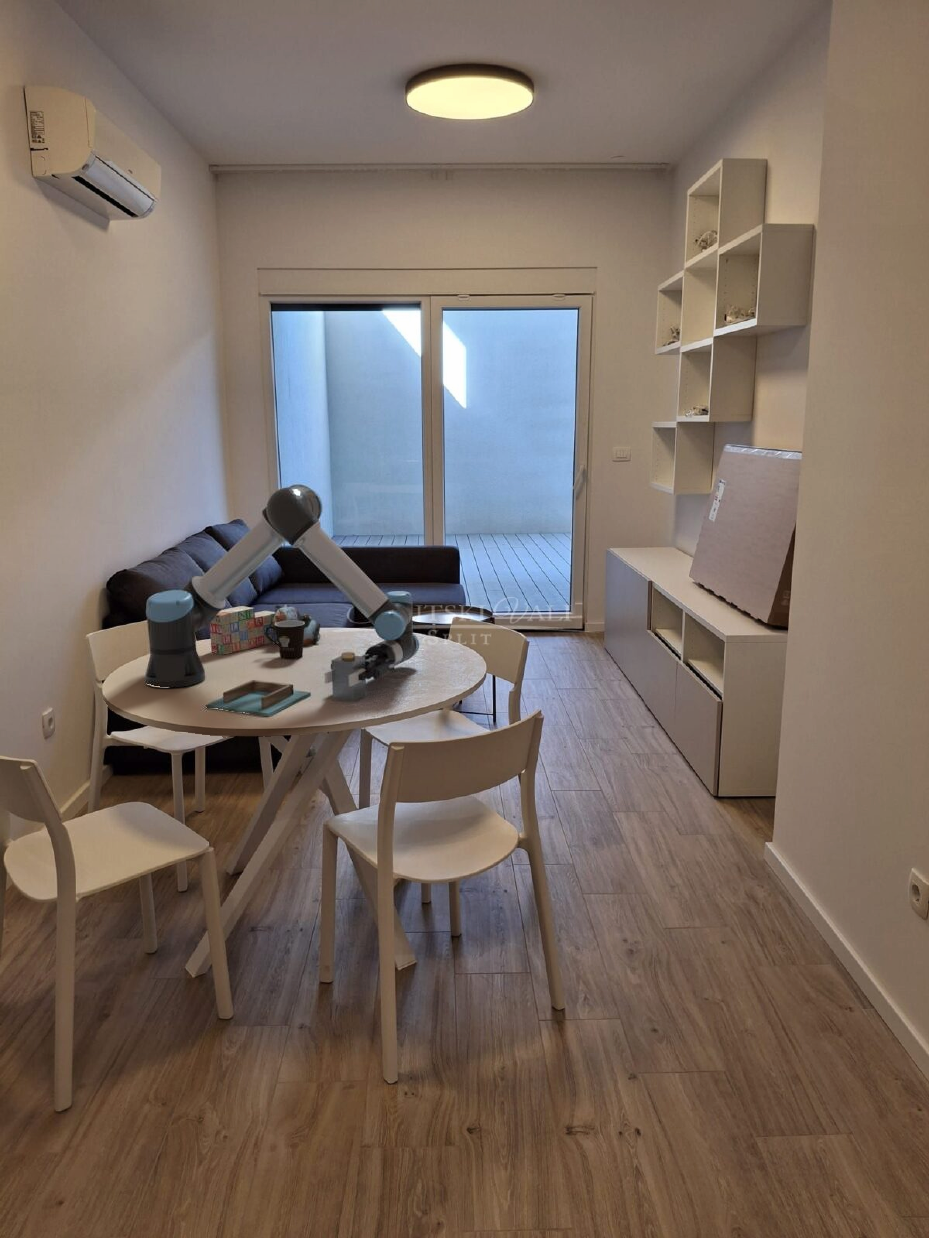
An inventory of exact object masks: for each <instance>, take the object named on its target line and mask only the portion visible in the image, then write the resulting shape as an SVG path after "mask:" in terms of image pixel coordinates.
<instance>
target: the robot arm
mask: <svg viewBox="0 0 929 1238" xmlns="http://www.w3.org/2000/svg"><path fill="white" fill-rule="evenodd" d="M322 513H323V501H322V499H321V497H320V495H319V493H318V492H317V491H316V490H315V489H314V488H312V487H310V486H308V485H305V484H299V483H298V484H292V485H290V486H289V487H288V486H287V487H282V488H280V489H277V490H276V491H275V492H273V493H272V494H271V496H270V497H269V499H268V501H267V503H266V506H265V508H263V509H262V510H261V520H259V521H258V522H257V523H256V524H255V525H254V526H253V527H252V528H251V529H249V531H248V532H247V533H246V534H245V535H244V536H243V537H242V538H241V539H240V540H238V542H237V543H236V544H235V545H233V546H232V547H231V548H230V549H229V550H228V551H227V552H226V553H225V554H224V555H223V556H222V557H221V558H219V560H218V561H217V562H216V563H215V564H214V565H212V566H211V568H209V570H208V571H206V572H205V573H204V574H203V575H201V576H199V575H198V576H197V575H196V576H193V577H192V578H191V579H190V580H189V581H188V582H187V583H186V584H185V585H184V586H183V587H182V588H181V589H177V590H176V589H171V590H165V591H162V592H157V593H154V594H152V595H151V596H149V597H148V599H147V600H146V603H145V604H146V609H145V615H146V620H147V622H146V624H147V630H148V631H147V632H148V643H149V659H148V663H147V667H146V670H145V677H144V678H145V684H146V683H147V684H151V685H154V686H160V687H180V688H183V687H182V686H186V687H189V686H188V685H191V686H193V685H192V684H195V685H198V684H200V683H202V682H203V681H205V680H206V670H205V668H204V665H203V663H202V660H201V658H200V655H199V654H198V653H199V652H198V651H197V642H196V641H197V640H196V632H197V631H200V630H201V629H203V628H205V627H207V626H209V624H210V623H211V622H212V621H213V620H214V618H215V617H216V615H217V614H218V613H219V612H220V611H221V610H224V608H225V607H226V599H227V598H228V597H229V596H230V595H231V593H234V591H235V590H236V589H237V588H238V587H239V586H241V584H242V583H244V581H245V580H247V579H248V578H249V577H250V576H251V575H252V574H253V573H254V572H255V571H256V570H257V569H258V568H259V567H260V566H261V565H262V564H263V563H265V561H266V560H268V558H269V557H271V556H272V555H273V554H274V553H275V552H276V551H277V550H278V549H279V548H280V547H281V546H282V545H283V544H284V543H288V544H289V545H290V547H292V548H298V549H299V550H301V552H302V553H303V554H304V555H305V556H306V557H307V558H308V559H309V560H310V561H311V562H312V563H313V564H314V565H315V566H316V567H317V568H318V569H319V570H320V572H322V574H324V576H326V577H327V579H329V581H331V583H333V584H334V586H335V587H336V588H337V589H338V590H339V591H340V592H341V593H343V595H344V596H345V597H346V598H347V599H348V600H349V601H350V602H351V603H352V604H353V605H354V606H355V607H356V608H357V609H358V610H359V612H361V614H363V615H364V617H366V618H367V620H369V621H370V623H371V624H372V625H373V627H374V631H375V633H376V634H377V636H378V637H379V638H381V639H382V641H380V642H378V643H376V644H374V645H371V646H369V647H368V648H367V650H366V651H365V652H364V654H363V655H361V656H362V657H365V669H360V670H358V671H356V672H354V673H352V674H350V675H349V686H354V685H355V684H357V683H359V682H361V681H363V680H365V679H366V680H370V679H371V678H373V680H378V679H380V678H382V677H383V676H385V675H386V674H387V673H389V672H391V671H395V667H396V666H397V665H400V664H402V663H403V662H406V661H409V660H411V659H412V658H413V657H414V656H415V655H416V654H417V653H418V651H419V649H420V642H419V638H418V637H417V635H416V634H415V633H414V628H413V605H414V604H413V596H412V593H410V592H408V591H405V590H401V591H400V590H399V591H398V590H396V591H389V592H386V593H384V592H383V591H382V589H380V588H379V587H378V585H376V584H375V583H374V582H373V580H371V579H370V578H369V577H368V576H367V574H366V573H365V572H364V571H363V570H362V569H361V568H360V566H358V565H357V564H356V563H355V562H354V561H353V560H352V559H351V558H350V557H349V556H348V555H347V554H346V552H344V550H343V549H342V548H341V547H340V546H339V545H338V544H337V543H336V542H335V541H334V540H333V539H332V538H331V537H330V536H329V535H328V534H327V532H326V531H325V530H323V528H321V527H322V526H321V525H322V524H321V520H319V519H321V517H322ZM204 679H205V680H204ZM201 681H202V682H201ZM199 682H200V683H199ZM331 682H332V663H330V669H329V670H327V671H325V672H324V684H328V685H329V684H330V683H331ZM197 683H198V684H197Z"/></svg>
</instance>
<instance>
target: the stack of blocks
mask: <svg viewBox="0 0 929 1238" xmlns="http://www.w3.org/2000/svg"><path fill="white" fill-rule="evenodd" d="M274 616H275V611H270V610H263V611H257V612H255V607H249V606H244V605H241V606H236V607H235V606H234V607H231V608H226V609H222V610H221V611H220V612H219V613H218V614H217V615H216V617H215V618H214V620H213V621H212V622H211V623H210V624H208V626H209V636H210V647H211V652H212V651H214V652H217V653H216V654H218V653H220V654H219V655H222V654H226V655H229V653H230V654H233V653H232V652H234V653H237V651H238V652H241V650H242V651H245V650H249V649H252V648H256V647H261V646H265V645H269V644H274V643H273V642H272V641H270V639H269V638H268V637H267V636H266V629H267V628H268V627H271V626H273V627H274V622H273V618H274ZM268 635H269V637H270V638H271V639H272V640H274V641H275V642H276V643H278V641H277V635H276V631H275V630H274V629H272V628H270V629H269V630H268Z"/></svg>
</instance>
